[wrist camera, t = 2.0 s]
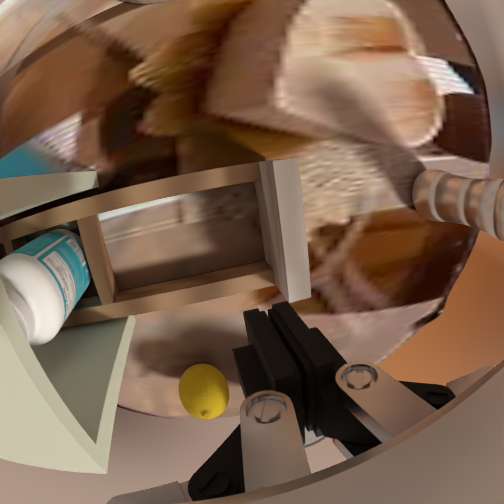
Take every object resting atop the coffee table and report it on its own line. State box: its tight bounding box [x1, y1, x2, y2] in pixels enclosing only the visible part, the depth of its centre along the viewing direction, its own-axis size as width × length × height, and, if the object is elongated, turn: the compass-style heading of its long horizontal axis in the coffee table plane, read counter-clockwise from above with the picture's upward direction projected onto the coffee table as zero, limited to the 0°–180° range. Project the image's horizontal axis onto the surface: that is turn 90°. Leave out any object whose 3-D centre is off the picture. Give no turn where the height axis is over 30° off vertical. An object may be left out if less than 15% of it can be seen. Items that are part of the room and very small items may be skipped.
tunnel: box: [0, 171, 136, 474], centre depth 16 cm, size 12×16×19 cm
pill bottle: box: [0, 229, 92, 345], centre depth 19 cm, size 8×7×14 cm
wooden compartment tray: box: [0, 158, 311, 327], centre depth 23 cm, size 32×12×7 cm, turn 98°
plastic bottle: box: [412, 169, 504, 242], centre depth 23 cm, size 6×7×20 cm
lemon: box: [179, 364, 229, 419], centre depth 29 cm, size 6×6×8 cm
